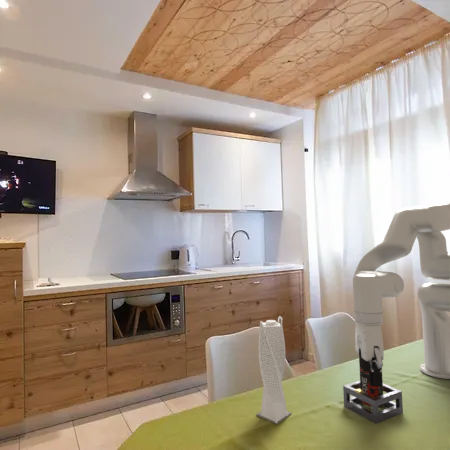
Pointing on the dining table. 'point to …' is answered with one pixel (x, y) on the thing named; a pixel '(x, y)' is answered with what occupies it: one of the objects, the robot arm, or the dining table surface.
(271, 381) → the skyscraper
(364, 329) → the robot arm
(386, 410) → the grey open cube frame
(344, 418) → the dining table surface
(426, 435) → the dining table surface
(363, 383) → the deodorant
